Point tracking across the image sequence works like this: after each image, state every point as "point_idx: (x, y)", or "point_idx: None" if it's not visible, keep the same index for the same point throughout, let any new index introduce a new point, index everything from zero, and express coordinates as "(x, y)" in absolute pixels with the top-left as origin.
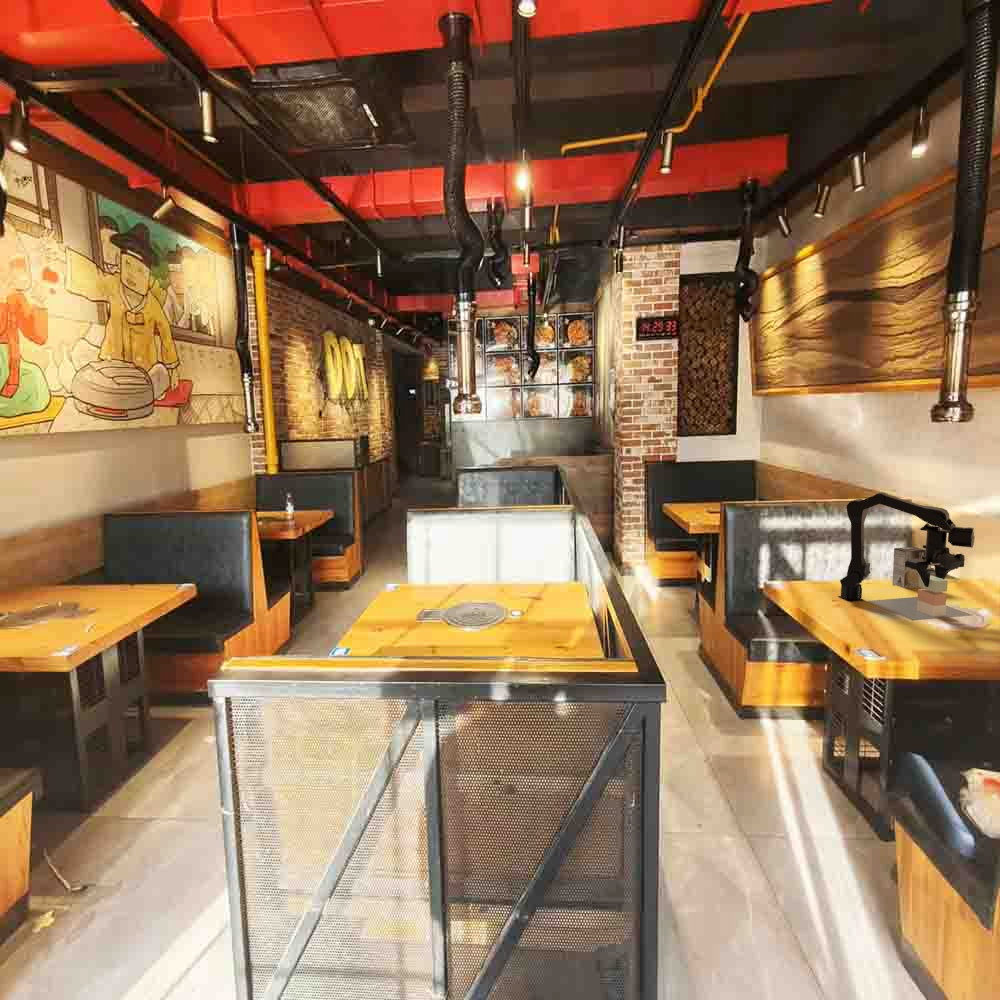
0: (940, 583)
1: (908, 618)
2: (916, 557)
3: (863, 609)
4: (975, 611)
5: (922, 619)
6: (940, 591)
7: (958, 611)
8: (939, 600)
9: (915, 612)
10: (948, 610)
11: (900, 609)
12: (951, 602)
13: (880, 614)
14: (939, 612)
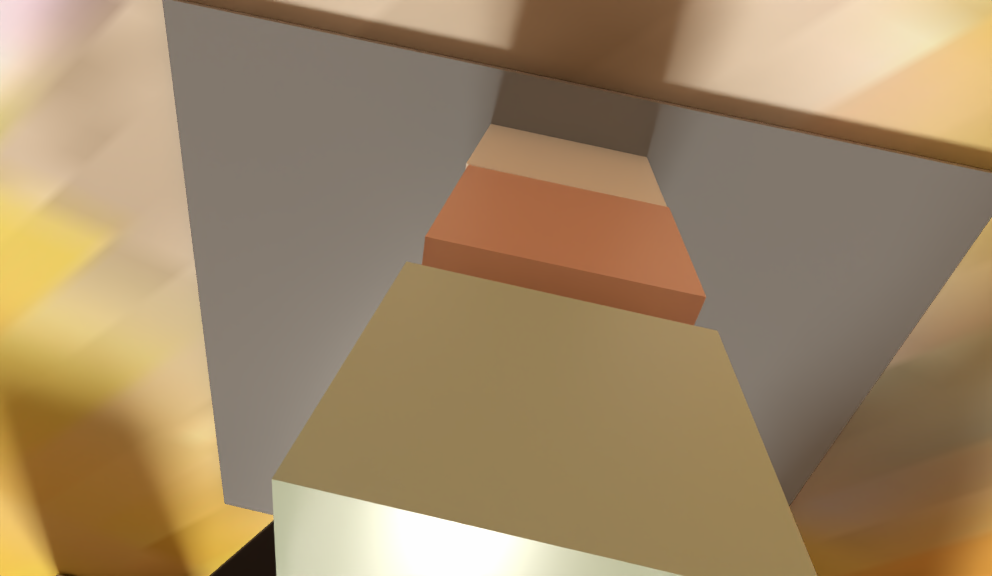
0: (604, 470)
1: (969, 239)
2: None
3: (934, 549)
4: (34, 102)
5: (871, 148)
6: (581, 304)
7: (226, 156)
8: (583, 219)
9: None
10: (297, 220)
11: None
12: (82, 348)
13: (984, 435)
14: (567, 154)
